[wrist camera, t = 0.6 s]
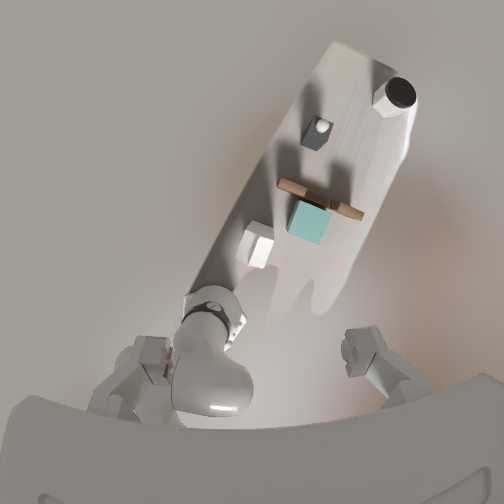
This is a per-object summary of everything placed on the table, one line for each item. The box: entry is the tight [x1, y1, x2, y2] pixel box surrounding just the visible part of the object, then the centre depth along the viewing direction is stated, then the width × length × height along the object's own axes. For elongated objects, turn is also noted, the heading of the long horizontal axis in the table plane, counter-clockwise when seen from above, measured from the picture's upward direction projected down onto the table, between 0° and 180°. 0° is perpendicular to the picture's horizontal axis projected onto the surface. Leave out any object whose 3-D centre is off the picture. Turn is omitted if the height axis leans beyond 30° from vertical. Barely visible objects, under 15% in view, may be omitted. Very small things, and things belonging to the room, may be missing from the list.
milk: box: [235, 220, 274, 268], centre depth 60 cm, size 6×6×22 cm
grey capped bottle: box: [301, 115, 334, 151], centre depth 56 cm, size 4×4×17 cm
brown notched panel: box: [277, 178, 364, 221], centre depth 62 cm, size 2×20×12 cm, turn 70°
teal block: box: [286, 200, 332, 245], centre depth 65 cm, size 8×8×7 cm
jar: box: [372, 77, 416, 118], centre depth 54 cm, size 9×8×12 cm
